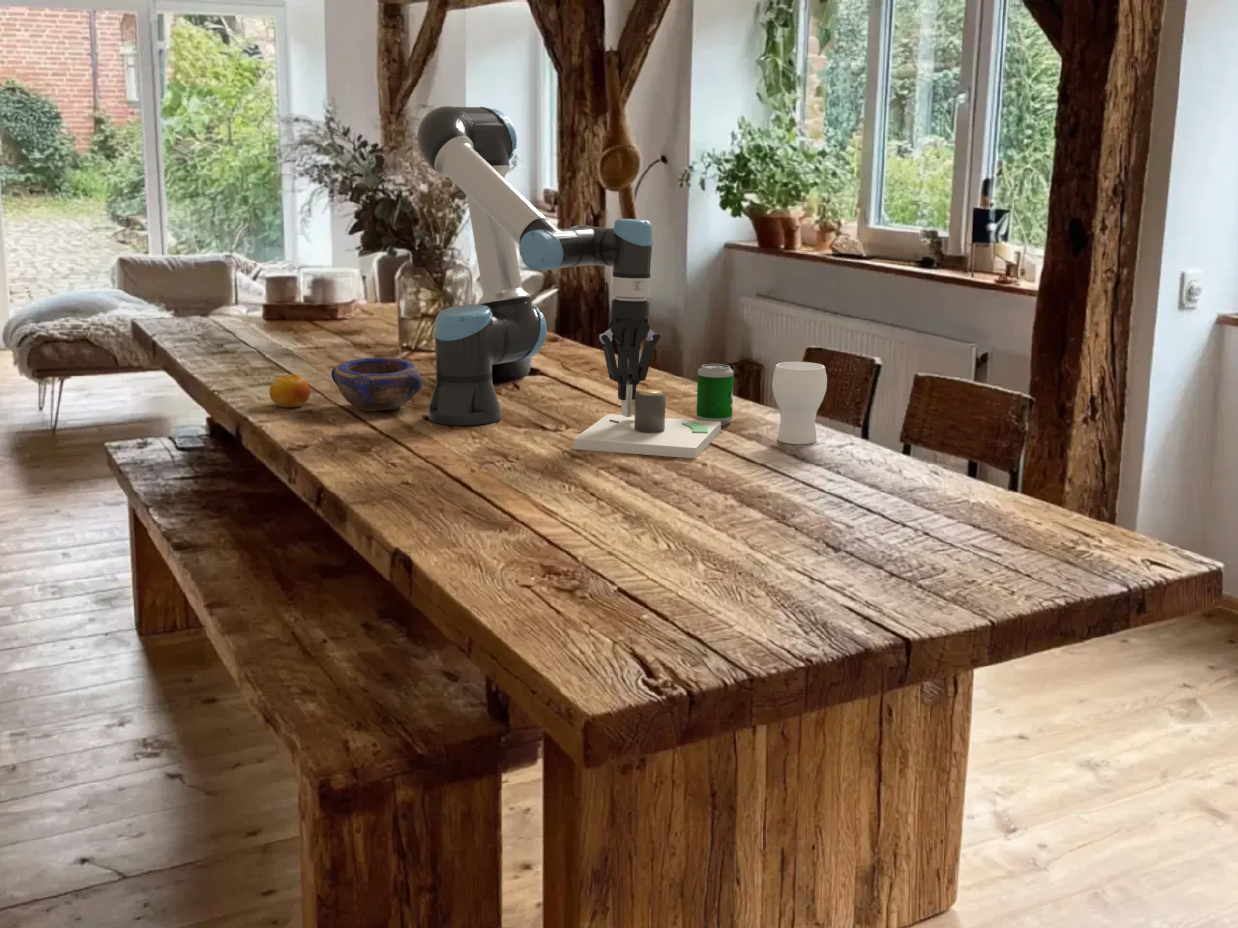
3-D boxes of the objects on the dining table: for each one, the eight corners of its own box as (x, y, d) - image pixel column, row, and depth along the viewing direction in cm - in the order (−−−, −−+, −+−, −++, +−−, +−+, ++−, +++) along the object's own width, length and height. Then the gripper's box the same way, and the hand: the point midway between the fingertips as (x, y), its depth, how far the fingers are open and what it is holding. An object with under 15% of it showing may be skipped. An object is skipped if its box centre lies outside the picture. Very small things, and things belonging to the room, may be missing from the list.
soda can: (729, 427, 266) (731, 370, 263) (693, 425, 267) (695, 368, 264) (734, 419, 273) (735, 364, 270) (698, 417, 274) (700, 362, 271)
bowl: (349, 419, 269) (347, 372, 266) (326, 404, 284) (324, 359, 282) (431, 412, 277) (430, 366, 274) (404, 397, 292) (403, 354, 290)
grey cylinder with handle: (669, 430, 251) (669, 393, 249) (640, 432, 249) (640, 395, 248) (645, 416, 264) (646, 381, 262) (618, 418, 262) (618, 382, 261)
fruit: (255, 391, 279) (276, 361, 278) (279, 399, 287) (298, 369, 286) (280, 413, 276) (301, 382, 275) (303, 420, 284) (323, 390, 283)
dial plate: (573, 449, 246) (573, 437, 245) (607, 423, 268) (607, 412, 267) (695, 458, 239) (696, 446, 239) (720, 431, 262) (721, 420, 261)
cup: (828, 436, 258) (832, 363, 254) (818, 448, 248) (822, 372, 245) (776, 432, 261) (779, 359, 258) (764, 443, 252) (767, 368, 248)
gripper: (608, 300, 248) (604, 420, 253) (667, 300, 253) (662, 417, 258) (593, 296, 254) (590, 413, 260) (651, 296, 259) (646, 411, 265)
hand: (626, 415), depth 259 cm, fingers closed
